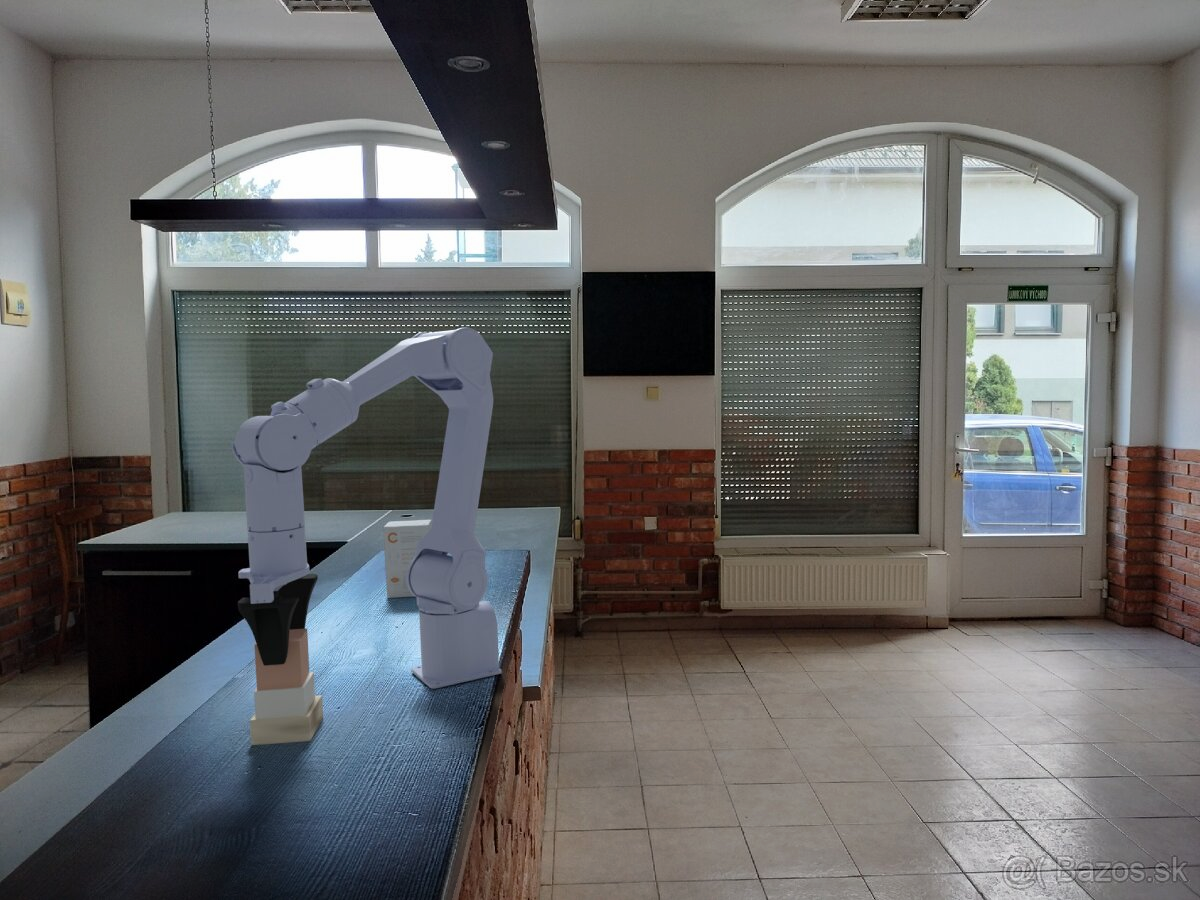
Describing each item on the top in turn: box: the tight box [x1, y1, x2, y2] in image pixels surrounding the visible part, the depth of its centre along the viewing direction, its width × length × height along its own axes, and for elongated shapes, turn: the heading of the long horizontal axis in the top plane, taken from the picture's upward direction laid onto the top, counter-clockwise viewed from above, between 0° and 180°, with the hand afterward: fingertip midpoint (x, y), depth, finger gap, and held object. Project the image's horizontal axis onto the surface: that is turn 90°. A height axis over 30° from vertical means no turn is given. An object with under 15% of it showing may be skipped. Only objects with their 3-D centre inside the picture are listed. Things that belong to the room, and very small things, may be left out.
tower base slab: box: [249, 694, 324, 746], centre depth 88 cm, size 6×6×3 cm
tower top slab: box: [253, 671, 316, 719], centre depth 88 cm, size 5×5×3 cm
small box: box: [382, 519, 432, 599], centre depth 147 cm, size 8×6×13 cm
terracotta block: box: [254, 628, 310, 690], centre depth 87 cm, size 4×4×5 cm
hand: (284, 652), depth 88 cm, fingers open, 7 cm apart
